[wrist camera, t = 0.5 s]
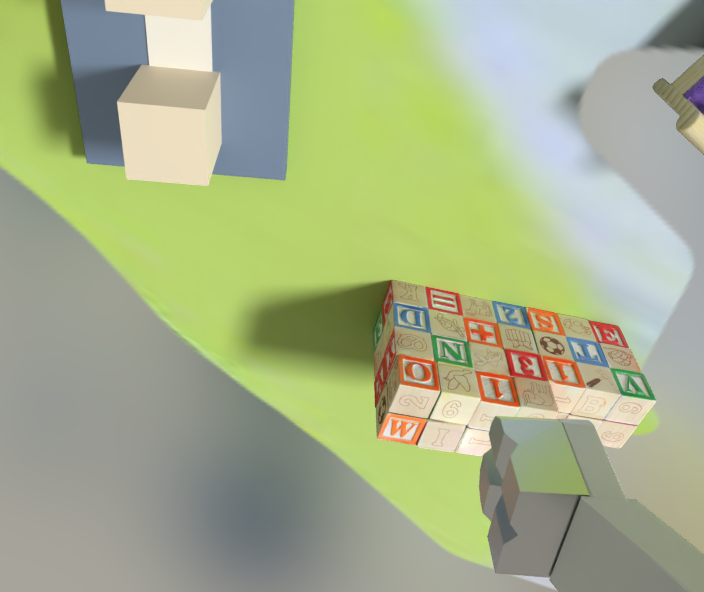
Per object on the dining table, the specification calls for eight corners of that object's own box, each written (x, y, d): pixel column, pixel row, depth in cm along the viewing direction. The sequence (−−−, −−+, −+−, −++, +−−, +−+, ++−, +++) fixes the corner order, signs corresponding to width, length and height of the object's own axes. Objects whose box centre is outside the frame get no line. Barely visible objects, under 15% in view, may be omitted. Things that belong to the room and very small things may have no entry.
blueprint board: (41, -184, 36) (-18, -173, 30) (301, -153, 37) (293, -136, 31) (93, 153, 48) (58, 207, 43) (286, 170, 49) (279, 225, 44)
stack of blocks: (620, 323, 59) (674, 432, 50) (588, 371, 63) (632, 481, 54) (389, 278, 56) (399, 385, 46) (370, 332, 60) (375, 442, 50)
